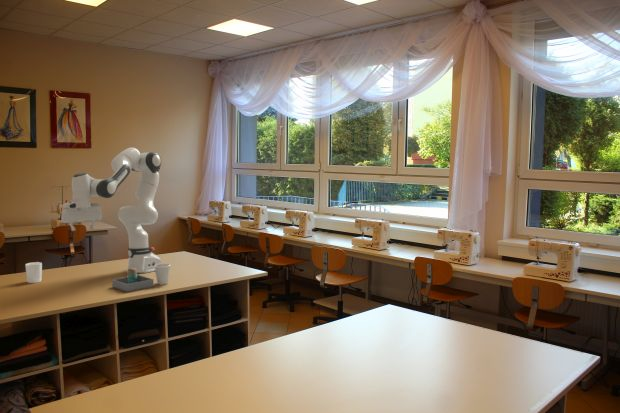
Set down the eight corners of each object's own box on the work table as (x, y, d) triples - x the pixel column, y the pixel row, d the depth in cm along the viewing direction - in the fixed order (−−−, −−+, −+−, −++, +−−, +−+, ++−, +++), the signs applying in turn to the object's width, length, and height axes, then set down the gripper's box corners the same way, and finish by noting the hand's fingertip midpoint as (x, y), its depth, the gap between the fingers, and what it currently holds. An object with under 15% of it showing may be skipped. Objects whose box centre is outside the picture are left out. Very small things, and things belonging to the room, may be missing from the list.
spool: (134, 284, 264) (133, 267, 263) (138, 286, 261) (138, 269, 260) (126, 286, 261) (125, 269, 260) (130, 287, 258) (130, 270, 257)
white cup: (46, 280, 275) (45, 262, 274) (33, 283, 267) (33, 265, 266) (35, 279, 277) (34, 261, 276) (22, 282, 270) (21, 264, 269)
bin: (139, 282, 272) (138, 274, 271) (153, 286, 262) (153, 279, 261) (112, 287, 261) (112, 279, 260) (126, 292, 251) (126, 284, 250)
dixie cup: (173, 283, 269) (173, 265, 268) (158, 285, 264) (158, 267, 263) (166, 280, 275) (166, 262, 274) (152, 283, 270) (151, 264, 269)
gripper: (98, 202, 274) (99, 227, 276) (59, 204, 259) (60, 231, 261) (103, 203, 270) (104, 228, 271) (64, 205, 255) (65, 232, 256)
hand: (82, 229), depth 266 cm, fingers open, 8 cm apart
